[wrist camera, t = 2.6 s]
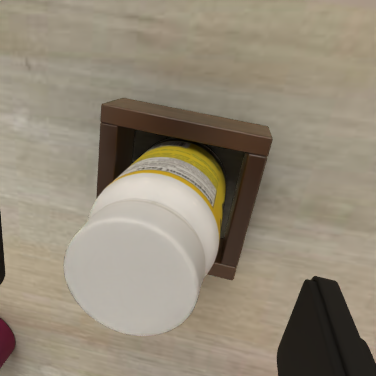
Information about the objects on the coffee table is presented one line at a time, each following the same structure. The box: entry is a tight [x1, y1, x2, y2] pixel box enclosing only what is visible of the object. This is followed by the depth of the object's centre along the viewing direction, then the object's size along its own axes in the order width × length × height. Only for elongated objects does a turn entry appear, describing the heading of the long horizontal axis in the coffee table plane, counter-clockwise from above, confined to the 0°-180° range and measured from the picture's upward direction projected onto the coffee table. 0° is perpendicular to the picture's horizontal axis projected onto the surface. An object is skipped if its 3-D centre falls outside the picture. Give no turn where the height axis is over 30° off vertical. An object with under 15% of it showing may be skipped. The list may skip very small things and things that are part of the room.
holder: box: [96, 98, 273, 280], centre depth 15 cm, size 7×7×2 cm
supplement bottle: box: [64, 138, 226, 336], centre depth 13 cm, size 5×5×8 cm
